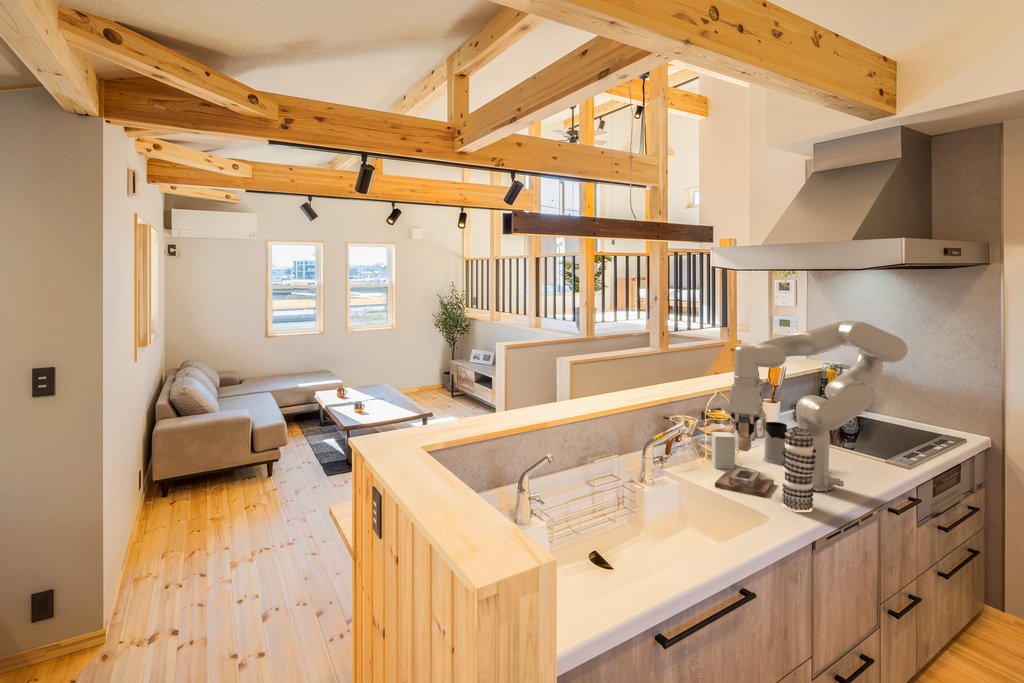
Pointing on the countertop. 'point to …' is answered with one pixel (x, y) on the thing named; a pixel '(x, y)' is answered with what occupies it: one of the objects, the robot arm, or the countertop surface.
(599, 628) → the countertop surface
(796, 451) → the decorative candle
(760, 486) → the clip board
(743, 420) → the brown upright block
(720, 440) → the supplement box
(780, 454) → the glass holder
